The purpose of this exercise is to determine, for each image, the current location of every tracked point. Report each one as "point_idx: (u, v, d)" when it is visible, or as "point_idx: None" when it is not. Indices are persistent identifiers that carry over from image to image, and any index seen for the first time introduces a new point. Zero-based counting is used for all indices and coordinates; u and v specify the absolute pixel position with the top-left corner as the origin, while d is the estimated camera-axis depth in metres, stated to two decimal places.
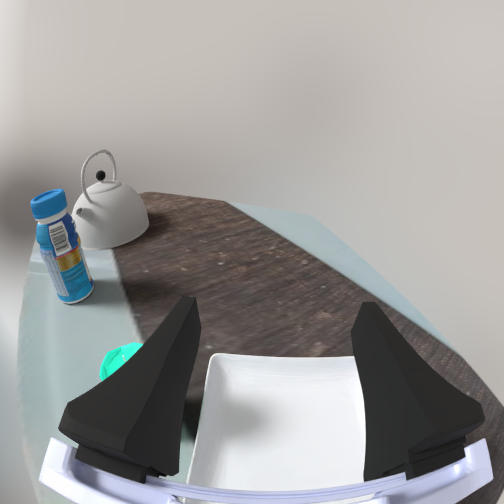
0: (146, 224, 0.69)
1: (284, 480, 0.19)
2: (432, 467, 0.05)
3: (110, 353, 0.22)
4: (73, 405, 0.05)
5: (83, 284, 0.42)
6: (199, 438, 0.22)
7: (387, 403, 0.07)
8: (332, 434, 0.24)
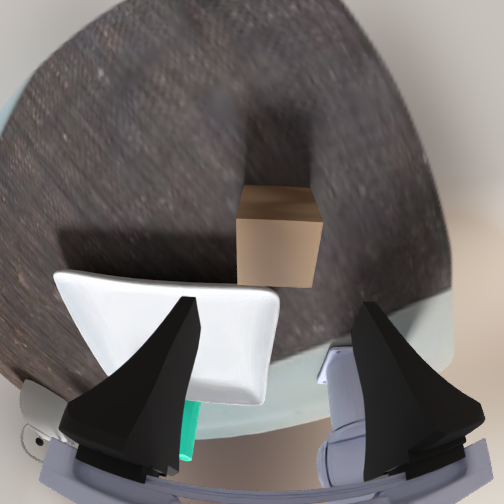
0: (31, 384, 0.48)
1: (218, 354, 0.28)
2: (432, 467, 0.05)
3: None
4: (73, 405, 0.05)
5: None
6: (192, 398, 0.31)
7: (387, 403, 0.07)
8: (159, 317, 0.25)
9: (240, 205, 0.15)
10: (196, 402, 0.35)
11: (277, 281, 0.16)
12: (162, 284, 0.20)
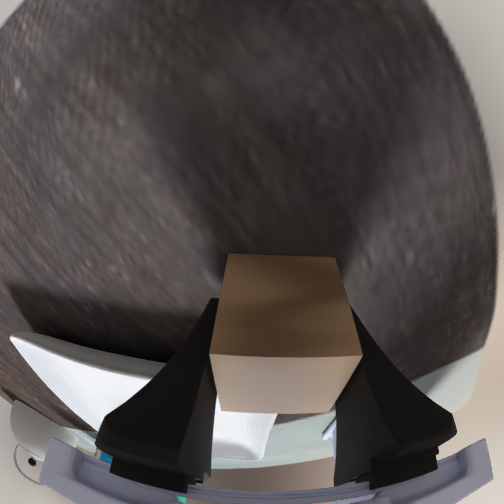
0: (20, 405, 0.42)
1: None
2: (399, 478, 0.05)
3: None
4: (111, 418, 0.05)
5: (109, 455, 0.40)
6: None
7: (353, 408, 0.07)
8: (135, 386, 0.19)
9: (219, 313, 0.09)
10: None
11: (280, 410, 0.10)
12: (127, 373, 0.13)
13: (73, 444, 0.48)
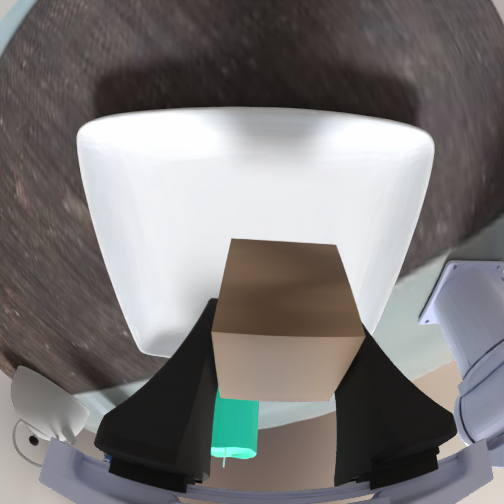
0: (24, 370, 0.41)
1: None
2: (400, 478, 0.05)
3: (216, 455, 0.22)
4: (110, 418, 0.05)
5: None
6: None
7: (354, 408, 0.07)
8: (242, 206, 0.17)
9: (221, 293, 0.09)
10: None
11: (280, 397, 0.10)
12: (284, 108, 0.12)
13: (83, 418, 0.46)
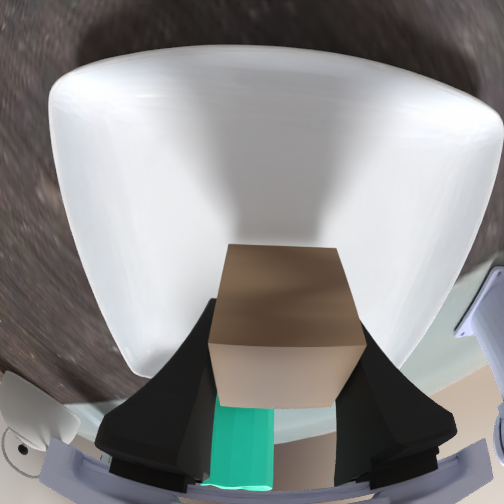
0: (11, 376, 0.35)
1: (357, 284, 0.15)
2: (399, 478, 0.05)
3: (224, 488, 0.17)
4: (111, 418, 0.05)
5: None
6: None
7: (354, 408, 0.07)
8: (271, 192, 0.12)
9: (218, 303, 0.08)
10: None
11: (281, 404, 0.09)
12: (344, 55, 0.07)
13: (74, 427, 0.41)
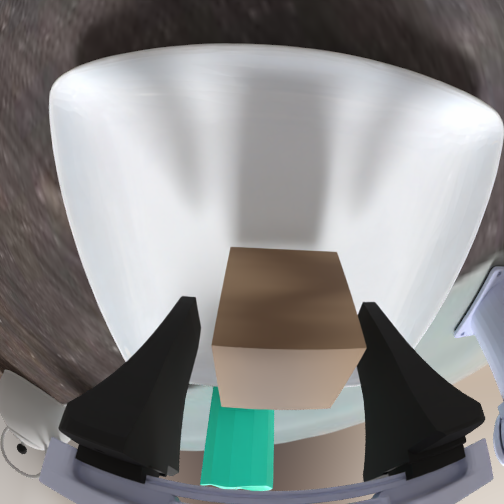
0: (10, 375, 0.35)
1: (356, 283, 0.15)
2: (432, 467, 0.05)
3: (224, 488, 0.17)
4: (73, 405, 0.05)
5: None
6: None
7: (387, 403, 0.07)
8: (270, 191, 0.12)
9: (221, 305, 0.09)
10: None
11: (281, 405, 0.10)
12: (344, 54, 0.07)
13: None
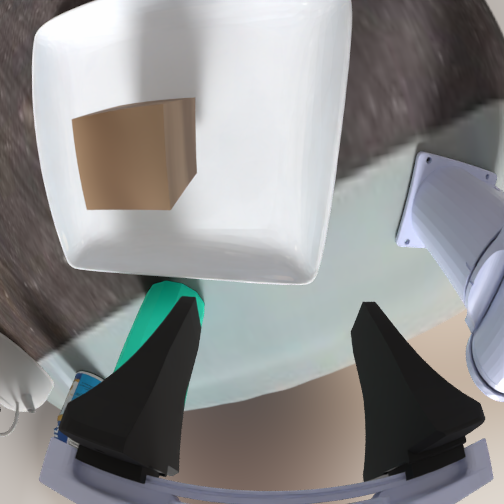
0: None
1: (245, 151, 0.17)
2: (432, 467, 0.05)
3: None
4: (73, 405, 0.05)
5: (87, 386, 0.35)
6: (190, 274, 0.20)
7: (387, 403, 0.07)
8: (161, 75, 0.14)
9: None
10: (197, 306, 0.24)
11: (126, 201, 0.11)
12: None
13: (45, 386, 0.42)
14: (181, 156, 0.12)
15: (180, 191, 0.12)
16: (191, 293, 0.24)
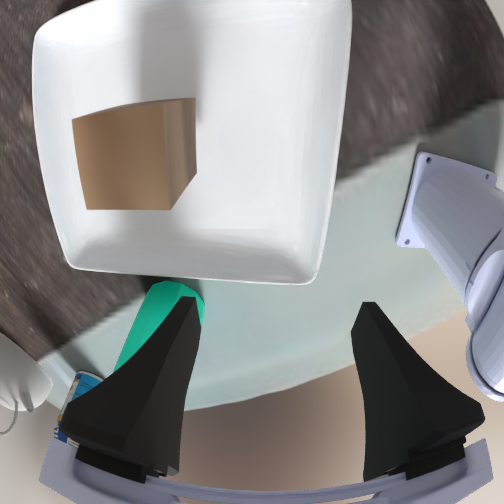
0: None
1: (245, 151, 0.17)
2: (432, 467, 0.05)
3: None
4: (73, 405, 0.05)
5: (87, 386, 0.35)
6: (190, 274, 0.20)
7: (387, 403, 0.07)
8: (161, 75, 0.14)
9: None
10: (197, 306, 0.24)
11: (126, 201, 0.11)
12: None
13: (44, 385, 0.42)
14: (181, 156, 0.12)
15: (180, 191, 0.12)
16: (191, 293, 0.24)
